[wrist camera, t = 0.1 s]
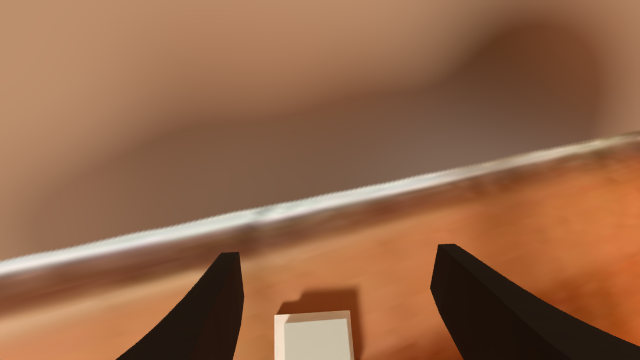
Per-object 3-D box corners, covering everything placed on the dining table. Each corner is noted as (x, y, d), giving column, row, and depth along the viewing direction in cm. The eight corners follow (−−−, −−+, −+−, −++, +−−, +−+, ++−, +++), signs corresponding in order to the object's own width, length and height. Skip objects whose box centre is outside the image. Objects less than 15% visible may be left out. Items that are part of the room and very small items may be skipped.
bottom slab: (354, 394, 38) (357, 398, 36) (276, 400, 38) (275, 405, 35) (347, 311, 42) (349, 310, 40) (276, 315, 41) (274, 315, 39)
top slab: (350, 387, 36) (353, 391, 34) (286, 393, 36) (286, 398, 33) (343, 319, 39) (346, 318, 37) (284, 323, 39) (283, 323, 36)
